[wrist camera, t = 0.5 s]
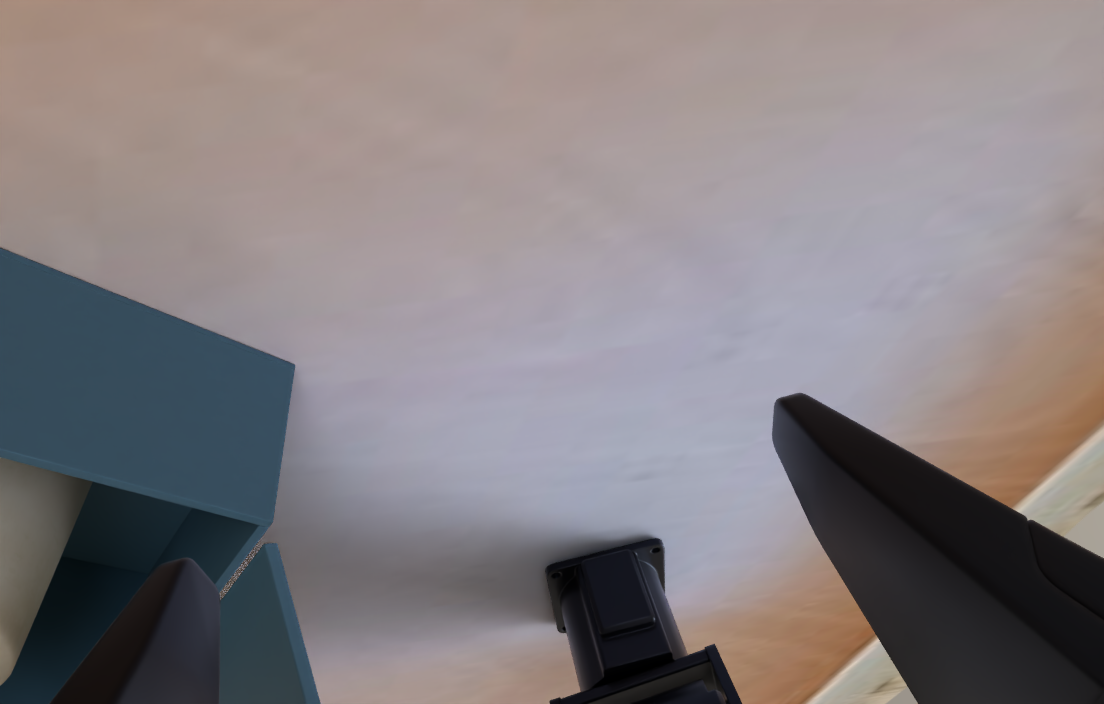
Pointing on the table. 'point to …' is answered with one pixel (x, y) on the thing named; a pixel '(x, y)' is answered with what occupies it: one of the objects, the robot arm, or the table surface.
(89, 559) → the carton
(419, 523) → the table surface
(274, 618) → the flap
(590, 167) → the table surface
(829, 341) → the table surface
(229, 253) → the table surface
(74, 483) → the candle
